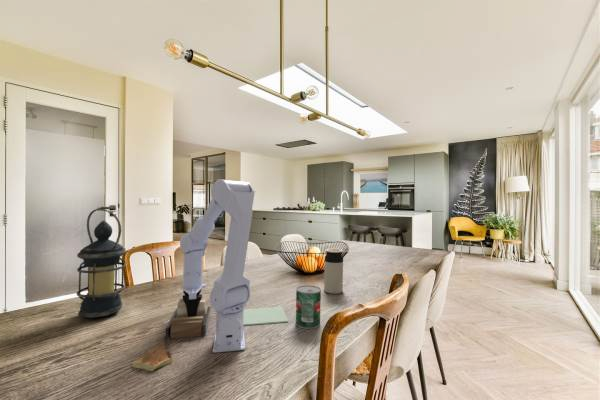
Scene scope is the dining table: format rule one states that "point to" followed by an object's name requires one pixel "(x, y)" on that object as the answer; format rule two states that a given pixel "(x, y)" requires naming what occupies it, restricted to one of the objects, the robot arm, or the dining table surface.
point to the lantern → (101, 272)
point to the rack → (168, 327)
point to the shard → (154, 358)
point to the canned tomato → (308, 306)
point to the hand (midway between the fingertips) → (192, 314)
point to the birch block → (183, 311)
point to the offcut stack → (186, 326)
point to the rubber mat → (264, 316)
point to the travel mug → (333, 271)
